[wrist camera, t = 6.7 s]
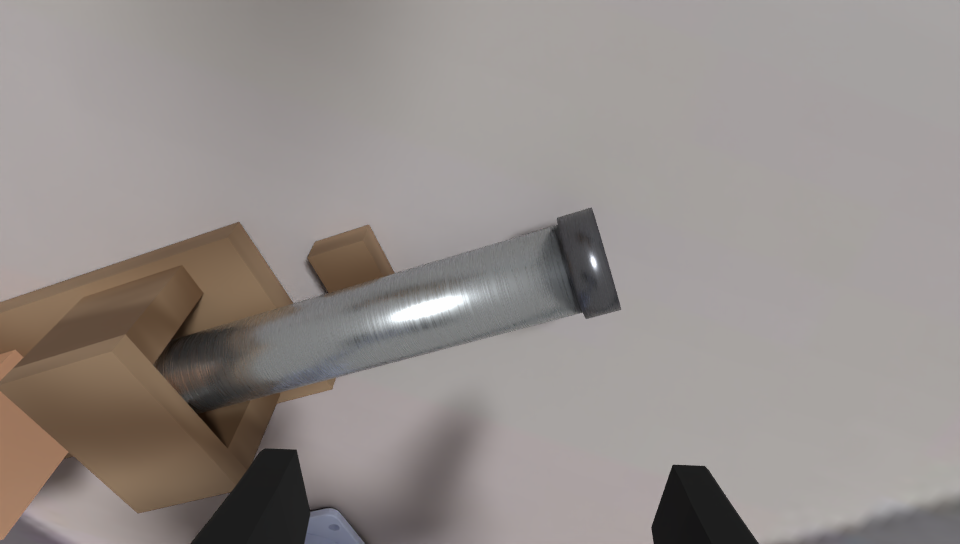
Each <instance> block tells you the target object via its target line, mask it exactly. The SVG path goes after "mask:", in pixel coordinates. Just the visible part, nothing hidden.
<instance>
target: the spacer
mask: <svg viewBox="0 0 960 544" xmlns="http://www.w3.org/2000/svg"><path fill="white" fill-rule="evenodd" d="M22 359H23V356H22V355H21V354H19V353H18V352H17V351H16V350H13V351H9V352H6V353H3V354H0V381H1V380H2V379H3V378H4V377H5V376H6V375H7V374H8V373H9V372H10V371H11V370H12V369H13V368H14V367H15V366H16V365H17V364H18V363H19V362H20V361H21V360H22ZM67 453H68V451H67V450H66V449H65V448H64V447H63V446H61V445H60V444H59V443H58V442H57V441H56V440H55V439H54V438H52V437H51V436H50V435H49V434H48V433H47V432H46V431H45V430H43V429H42V428H41V427H40V426H39V425H38V424H37V423H36V422H34V421H33V420H32V419H31V418H30V417H29V416H28V415H27V414H25V413H24V412H23V411H22V410H21V409H20V408H19V407H18V406H16V405H15V404H14V403H13V402H12V401H11V400H10V399H9V398H7V397H6V396H5V395H4V394H3V393H2V392H1V391H0V540H3V539H4V538H5V536H6V535H7V534H8V532H9V531H10V530H11V528H12V527H13V526H14V524H15V523H16V522H17V520H18V519H19V518H20V516H21V515H22V514H23V512H24V511H25V510H26V508H27V507H28V506H29V504H30V503H31V502H32V500H33V499H34V498H35V496H36V495H37V494H38V492H39V491H40V490H41V488H42V487H43V486H44V484H45V483H46V481H47V480H48V479H49V477H50V476H51V475H52V473H53V472H54V471H55V469H56V468H57V467H58V465H59V464H60V463H61V461H62V460H63V459H64V457H65V456H66V455H67Z"/></svg>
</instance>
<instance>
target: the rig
mask: <svg viewBox="0 0 960 544" xmlns="http://www.w3.org/2000/svg"><path fill="white" fill-rule="evenodd" d="M307 258H308V260H309V262H310V263H311V265H312V266H313V268H314V270H315V271H316V273H317V275H318V276H319V278H320V279H321V281H322V283H323V284H324V286H325V288H326V289H327V291H328V292H329V293H331V292H334V291H337V290H341V289H344V288H348V287H351V286H354V285H358V284H361V283H364V282H368V281H371V280H374V279H378V278H381V277H384V276H388V275H391V274H395V273H394V271H393V269H392V267H391V265H390V263H389V262H388V260H387V258H386V256H385V254H384V252H383V250H382V248H381V246H380V244H379V243H378V241H377V239H376V237H375V235H374V233H373V231H372V229H371V227H370V226H369V225H366V226H363V227H360V228H357V229H354V230H351V231H348V232H344V233H341V234H338V235H335V236H332V237H329V238H326V239H323V240H319V241H316V242H315V243H314V245H313V247H312V249H311V251H310V253H309V255H308V257H307ZM290 304H293V302H292V301H291V299H290V298H289V296H288V295H287V293H286V292H285V290H284V289H283V287H282V286H281V284H280V283H279V281H278V280H277V278H276V276H275V275H274V273H273V272H272V270H271V269H270V267H269V266H268V264H267V263H266V261H265V260H264V258H263V257H262V255H261V254H260V252H259V251H258V249H257V248H256V246H255V245H254V243H253V242H252V240H251V239H250V237H249V236H248V234H247V233H246V231H245V230H244V228H243V227H242V225H241V224H240V222H237V223H235V224H232V225H229V226H226V227H223V228H220V229H217V230H214V231H211V232H208V233H205V234H202V235H199V236H196V237H193V238H190V239H187V240H184V241H181V242H178V243H175V244H172V245H169V246H166V247H163V248H160V249H157V250H154V251H151V252H148V253H146V254H143V255H140V256H137V257H134V258H131V259H128V260H125V261H122V262H119V263H116V264H113V265H110V266H107V267H104V268H101V269H98V270H95V271H92V272H89V273H86V274H83V275H80V276H77V277H74V278H71V279H68V280H65V281H62V282H60V283H57V284H54V285H51V286H48V287H45V288H42V289H39V290H36V291H33V292H30V293H27V294H24V295H21V296H18V297H15V298H12V299H9V300H6V301H3V302H0V354H3V353H6V352H9V351H13V350H16V351H17V352H18V353H19V354H21V355H22V356H23V359H22V360H21V361H20V362H19V363H18V364H17V365H16V366H15V367H14V368H13V369H12V370H11V371H10V372H9V373H8V374H7V375H6V376H5V377H4V378H3V379H2V380H1V381H0V391H1V392H2V393H3V394H4V395H5V396H6V397H7V398H9V399H10V400H11V401H12V402H13V403H14V404H15V405H16V406H18V407H19V408H20V409H21V410H22V411H23V412H24V413H25V414H27V415H28V416H29V417H30V418H31V419H32V420H33V421H34V422H36V423H37V424H38V425H39V426H40V427H41V428H42V429H43V430H45V431H46V432H47V433H48V434H49V435H50V436H51V437H52V438H54V439H55V440H56V441H57V442H58V443H59V444H60V445H61V446H63V447H64V448H65V449H66V450H67V451H68V453H67V455H66V456H65V457H64V459H65V458H69V457H73V456H74V457H75V458H76V459H77V460H78V461H79V462H81V463H82V464H83V465H84V466H85V467H86V468H87V469H88V470H90V471H91V472H92V473H93V474H94V475H95V476H96V477H97V478H99V479H100V480H101V481H102V482H103V483H104V484H105V485H106V486H107V487H109V488H110V489H111V490H112V491H113V492H114V493H115V494H116V495H118V496H119V497H120V498H121V499H122V500H123V501H124V502H125V503H127V504H128V505H129V506H130V507H131V508H132V509H133V510H134V511H136V512H137V513H142V512H147V511H151V510H155V509H160V508H164V507H169V506H173V505H177V504H182V503H186V502H190V501H195V500H199V499H204V498H208V497H212V496H217V495H221V494H225V493H230V492H231V491H232V490H233V489H234V487H235V486H236V485H237V483H238V482H239V481H240V479H241V478H242V476H243V475H244V474H245V472H246V471H247V470H248V468H249V467H250V465H251V464H252V462H253V459H254V457H255V454H256V452H257V449H258V447H259V445H260V442H261V440H262V437H263V435H264V433H265V430H266V428H267V425H268V423H269V421H270V418H271V416H272V413H273V411H274V409H275V406H276V404H277V403H281V402H285V401H289V400H293V399H297V398H300V397H304V396H308V395H312V394H316V393H320V392H324V391H327V390H331V389H333V385H334V382H335V379H336V378H333V379H329V380H325V381H321V382H317V383H314V384H310V385H306V386H302V387H298V388H295V389H291V390H287V391H283V392H280V393H276V394H272V395H268V396H264V397H261V398H257V399H253V400H249V401H245V402H242V403H238V404H234V405H230V406H226V407H223V408H219V409H215V410H211V411H207V412H204V413H200V414H196V413H195V411H194V410H193V409H192V408H191V407H190V406H189V405H188V404H187V403H186V401H185V400H184V399H183V398H182V397H181V396H180V395H179V394H178V392H177V391H176V390H175V389H174V388H173V387H172V386H171V385H170V384H169V382H168V381H167V380H166V379H165V378H164V377H163V376H162V375H161V373H160V372H159V371H158V370H157V369H156V368H155V367H154V366H153V364H154V363H155V361H156V360H157V359H158V357H159V356H160V354H161V353H162V351H163V350H164V349H165V347H166V346H167V344H168V343H169V342H170V340H173V339H176V338H179V337H183V336H186V335H190V334H193V333H196V332H200V331H203V330H206V329H210V328H213V327H216V326H220V325H223V324H226V323H230V322H233V321H237V320H240V319H243V318H247V317H250V316H253V315H257V314H260V313H263V312H267V311H270V310H274V309H277V308H280V307H284V306H287V305H290Z"/></svg>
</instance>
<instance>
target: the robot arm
mask: <svg viewBox="0 0 960 544" xmlns="http://www.w3.org/2000/svg"><path fill="white" fill-rule="evenodd" d="M651 528H652V535H653V542H654V544H759V543H758V542H757V540H756V539H755V538H754V536H753V535H752V533H751V532H750V530H749V529H748V528H747V526H746V525H745V523H744V522H743V520H742V519H741V518H740V516H739V515H738V513H737V512H736V510H735V509H734V507H733V506H732V504H731V503H730V501H729V500H728V498H727V497H726V495H725V494H724V493H723V491H722V490H721V488H720V487H719V485H718V484H717V482H716V481H715V479H714V477H713V476H712V474H711V473H710V471H709V470H708V469H707V468H706V467H705V466H690V465H673V466H672V469H671V471H670V474H669V477H668V480H667V483H666V486H665V489H664V492H663V495H662V498H661V501H660V504H659V507H658V509H657V512H656V515H655V518H654V521H653V524H652V527H651ZM191 544H365V543H364V542H363V541H362V539H361V538H360V537H359V536H358V534H357V533H356V532H355V531H354V529H353V528H352V527H351V526H350V524H349V523H348V522H347V521H346V520H345V518H344V517H343V516H342V515H341V513H340V512H339V511H337V510H335V509H332V508H326V509H321V510H317V511H312V512H310V509H309V505H308V500H307V496H306V491H305V486H304V482H303V477H302V473H301V468H300V464H299V459H298V454H297V450H290V449H264V450H262V451H261V452H260V453H259V454H258V456H257V457H256V458H255V460H254V461H253V463H252V464H251V465H250V467H249V468H248V470H247V471H246V472H245V474H244V475H243V476H242V478H241V479H240V481H239V482H238V483H237V485H236V486H235V487H234V489H233V490H232V491H231V493H230V494H229V495H228V497H227V498H226V499H225V501H224V502H223V503H222V505H221V506H220V507H219V508H218V510H217V511H216V512H215V514H214V515H213V516H212V518H211V519H210V520H209V521H208V523H207V524H206V525H205V526H204V528H203V529H202V530H201V531H200V532H199V534H198V535H197V536H196V537H195V539H194V540H193V541H192V542H191Z"/></svg>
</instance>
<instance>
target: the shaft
mask: <svg viewBox="0 0 960 544" xmlns="http://www.w3.org/2000/svg"><path fill="white" fill-rule="evenodd" d="M557 223H558V225H556V226H553V227H549V228H546V229H542V230H539V231H536V232H532V233H529V234H526V235H522V236H519V237H516V238H512V239H509V240H505V241H502V242H499V243H495V244H492V245H489V246H485V247H482V248H479V249H475V250H472V251H469V252H465V253H462V254H458V255H455V256H452V257H448V258H445V259H442V260H438V261H435V262H432V263H428V264H425V265H421V266H418V267H415V268H411V269H408V270H405V271H401V272H398V273H395V274H391V275H388V276H384V277H381V278H378V279H374V280H371V281H368V282H364V283H361V284H358V285H354V286H351V287H348V288H344V289H341V290H337V291H334V292H331V293H327V294H324V295H321V296H317V297H314V298H311V299H307V300H304V301H300V302H297V303H294V304H290V305H287V306H284V307H280V308H277V309H274V310H270V311H267V312H263V313H260V314H257V315H253V316H250V317H247V318H243V319H240V320H237V321H233V322H230V323H226V324H223V325H220V326H216V327H213V328H210V329H206V330H203V331H200V332H196V333H193V334H190V335H186V336H183V337H179V338H176V339H173V340H170V342H169V343H168V344H167V346H166V347H165V349H164V350H163V351H162V353H161V354H160V356H159V357H158V359H157V360H156V361H155V363H154V364H153V366H154V367H155V368H156V369H157V370H158V371H159V372H160V373H161V375H162V376H163V377H164V378H165V379H166V380H167V381H168V382H169V384H170V385H171V386H172V387H173V388H174V389H175V390H176V391H177V392H178V394H179V395H180V396H181V397H182V398H183V399H184V400H185V401H186V403H187V404H188V405H189V406H190V407H191V408H192V409H193V410H194V411H195V413H196V414H200V413H204V412H207V411H211V410H215V409H219V408H223V407H226V406H230V405H234V404H238V403H242V402H245V401H249V400H253V399H257V398H261V397H264V396H268V395H272V394H276V393H280V392H283V391H287V390H291V389H295V388H298V387H302V386H306V385H310V384H314V383H317V382H321V381H325V380H329V379H333V378H336V377H340V376H344V375H348V374H352V373H355V372H359V371H363V370H367V369H371V368H374V367H378V366H382V365H386V364H390V363H393V362H397V361H401V360H405V359H408V358H412V357H416V356H420V355H424V354H427V353H431V352H435V351H439V350H443V349H446V348H450V347H454V346H458V345H462V344H465V343H469V342H473V341H477V340H481V339H484V338H488V337H492V336H496V335H500V334H503V333H507V332H511V331H515V330H518V329H522V328H526V327H530V326H534V325H537V324H541V323H545V322H549V321H553V320H556V319H560V318H564V317H568V316H572V315H575V314H579V313H583V314H584V316H585V318H586V319H588V318H592V317H596V316H600V315H603V314H607V313H611V312H615V311H619V310H621V307H620V303H619V299H618V296H617V292H616V289H615V285H614V282H613V278H612V275H611V271H610V268H609V264H608V261H607V257H606V254H605V250H604V247H603V243H602V240H601V237H600V233H599V230H598V226H597V223H596V220H595V216H594V213H593V210H592V208H588V209H585V210H582V211H578V212H575V213H572V214H568V215H565V216H562V217H558V218H557Z"/></svg>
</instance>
